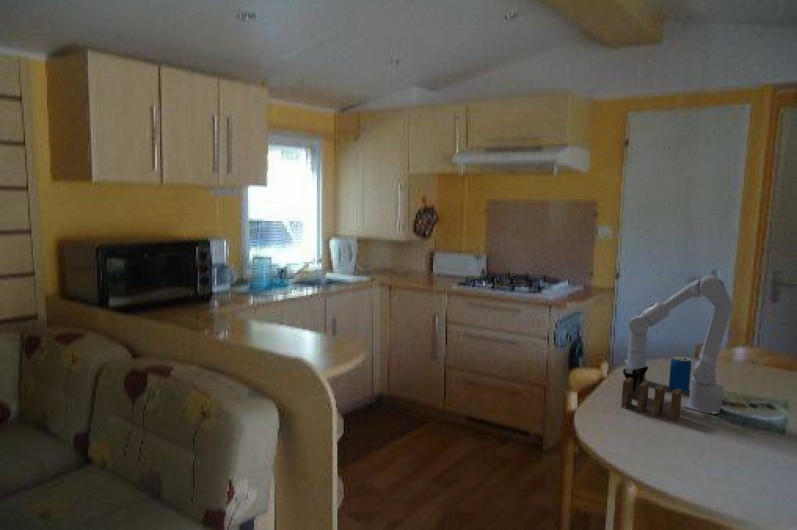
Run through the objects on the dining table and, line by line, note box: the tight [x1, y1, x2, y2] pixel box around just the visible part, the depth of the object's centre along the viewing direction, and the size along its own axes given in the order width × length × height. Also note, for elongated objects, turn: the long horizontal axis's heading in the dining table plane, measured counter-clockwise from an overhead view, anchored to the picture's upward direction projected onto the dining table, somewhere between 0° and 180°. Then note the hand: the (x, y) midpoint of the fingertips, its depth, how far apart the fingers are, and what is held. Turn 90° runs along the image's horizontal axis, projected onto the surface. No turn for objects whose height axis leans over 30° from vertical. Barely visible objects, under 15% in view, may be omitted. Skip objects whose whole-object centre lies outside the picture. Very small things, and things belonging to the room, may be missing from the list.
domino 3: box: [636, 380, 650, 413], centre depth 183 cm, size 2×5×9 cm, turn 139°
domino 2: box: [632, 369, 640, 400], centre depth 194 cm, size 2×5×9 cm, turn 139°
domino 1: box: [620, 377, 633, 409], centre depth 186 cm, size 2×5×9 cm, turn 139°
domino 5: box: [669, 389, 683, 422], centre depth 177 cm, size 2×5×9 cm, turn 139°
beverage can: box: [668, 355, 692, 394], centre depth 200 cm, size 6×6×12 cm
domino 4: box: [652, 384, 666, 418], centre depth 180 cm, size 2×5×9 cm, turn 139°
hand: (634, 388), depth 195 cm, fingers closed on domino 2, 5 cm apart
